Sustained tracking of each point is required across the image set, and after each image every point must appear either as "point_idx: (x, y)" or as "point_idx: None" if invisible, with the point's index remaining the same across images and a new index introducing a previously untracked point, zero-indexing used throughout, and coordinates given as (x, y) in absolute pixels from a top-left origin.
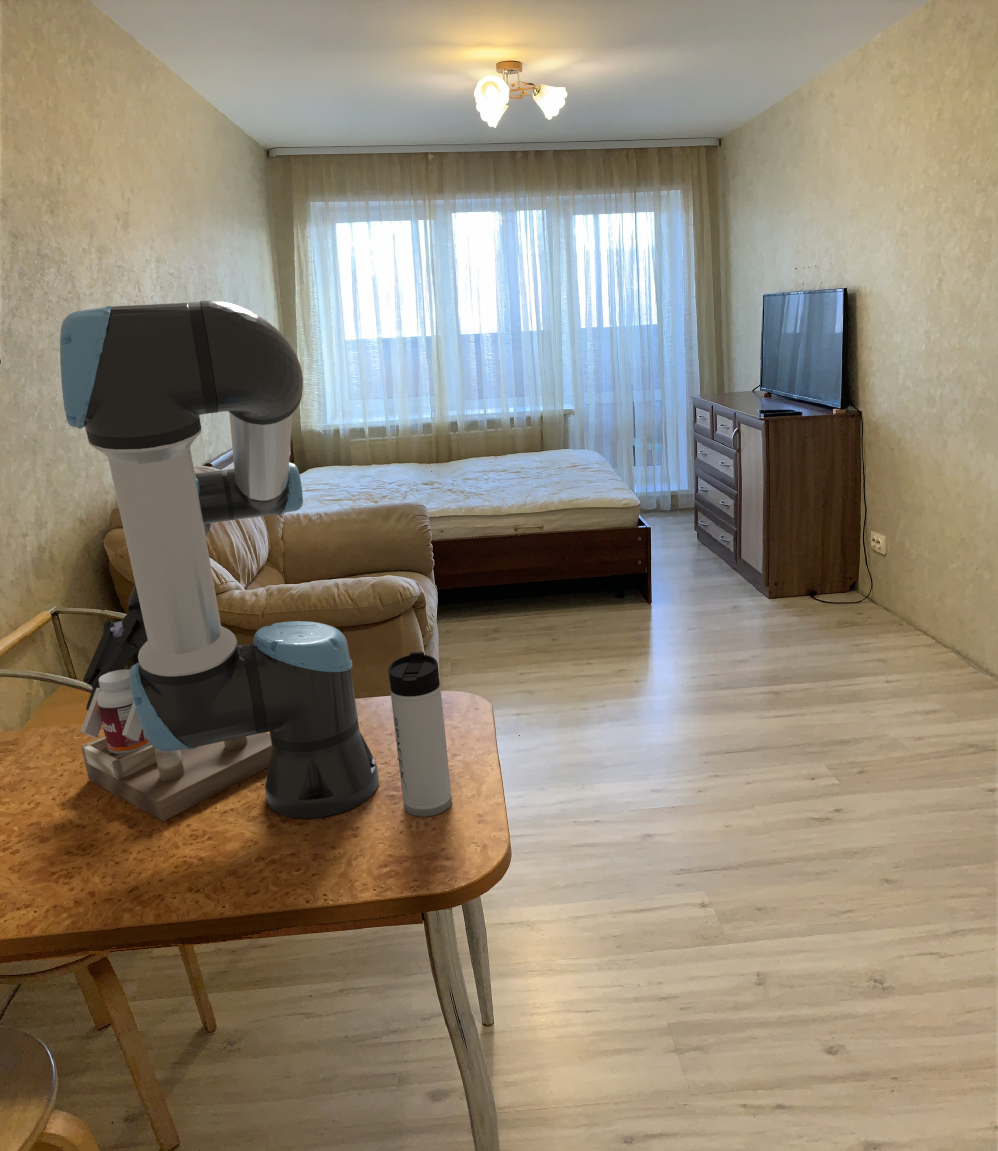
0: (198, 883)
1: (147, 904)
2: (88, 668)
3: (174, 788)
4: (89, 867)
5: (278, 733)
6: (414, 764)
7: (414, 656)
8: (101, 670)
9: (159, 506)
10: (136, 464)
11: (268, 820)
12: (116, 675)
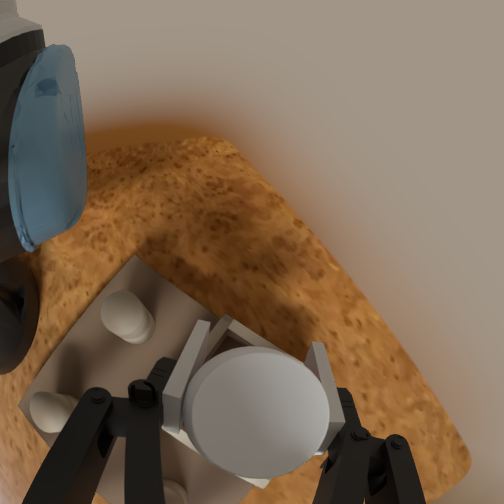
0: (93, 177)
1: (128, 157)
2: (414, 468)
3: (122, 285)
4: (196, 195)
5: None
6: None
7: None
8: (364, 471)
9: None
10: None
11: (39, 261)
12: (263, 421)
